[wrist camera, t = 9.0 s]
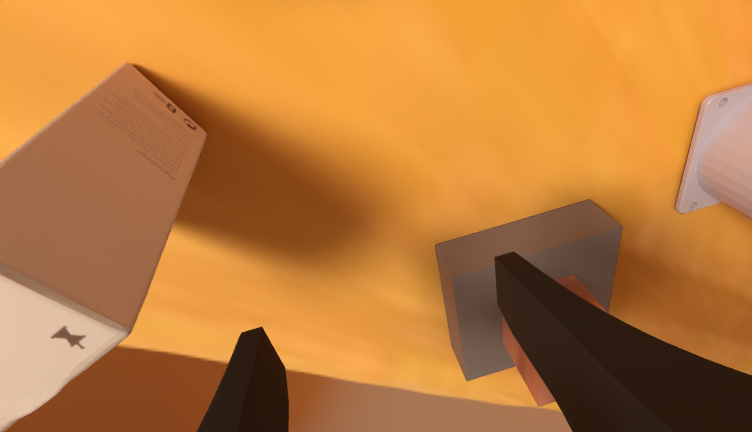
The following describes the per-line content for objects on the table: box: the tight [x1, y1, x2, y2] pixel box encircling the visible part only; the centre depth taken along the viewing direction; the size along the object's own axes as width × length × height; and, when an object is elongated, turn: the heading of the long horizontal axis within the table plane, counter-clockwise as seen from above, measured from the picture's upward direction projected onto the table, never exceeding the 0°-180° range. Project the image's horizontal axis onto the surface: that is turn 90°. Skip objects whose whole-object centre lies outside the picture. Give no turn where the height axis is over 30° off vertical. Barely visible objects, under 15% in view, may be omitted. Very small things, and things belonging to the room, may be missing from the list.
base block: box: [435, 199, 623, 381], centre depth 27 cm, size 10×10×3 cm
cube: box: [502, 274, 609, 406], centre depth 24 cm, size 4×4×4 cm
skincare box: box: [0, 63, 207, 432], centre depth 14 cm, size 6×4×12 cm
